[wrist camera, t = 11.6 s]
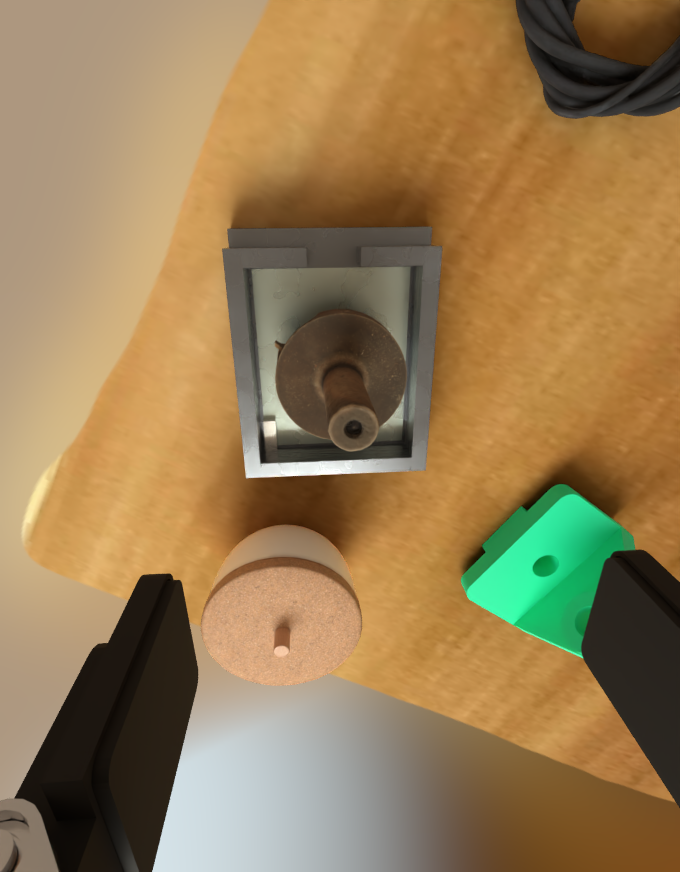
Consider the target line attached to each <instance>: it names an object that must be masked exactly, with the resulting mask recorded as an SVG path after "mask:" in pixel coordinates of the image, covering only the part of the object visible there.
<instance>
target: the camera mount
mask: <svg viewBox="0 0 680 872" xmlns="http://www.w3.org/2000/svg"><path fill="white" fill-rule="evenodd" d="M482 547H483V549H484V550H485V552H486V553H485V554H483V555H482V556H481V557H480V558H479V559H478V560H477V561H476V562H475V563H474V564H473V565H472V566H471V567H470V568H469V569H468V570H467V571H466V572H465V573H464V574H463V576H462V578H461V583H462V586H463V588H464V590H465V592H466V594H467V597H468V598H469V599H470V600H471V601H473V602H475V603H476V604H478V605H480V606H481V607H483V608H485V609H487V610H488V611H490V612H492V613H493V614H495V615H497V616H499V617H500V618H502V619H504V620H505V621H507V622H509V623H511V624H512V625H514V626H516V627H517V628H519V629H521V630H523V631H524V632H526V633H528V634H531V635H533V636H535V637H537V638H540V639H542V640H544V641H546V642H548V643H551V644H553V645H555V646H557V647H559V648H562V649H564V650H566V651H568V652H570V653H573V654H575V655H577V656H579V657H581V658H583V656H582V651H581V644H582V640H583V637H584V633H585V630H586V626H587V622H588V619H589V615H590V612H591V608H592V604H593V601H594V597H595V594H596V590H597V586H598V583H599V579H600V576H601V572H602V568H603V565H604V562H605V560H606V559H607V558H610V556H611V554H612V553H613V552H615V551H624V550H635V545H634V539H633V536H632V535H631V534H630V533H629V532H628V531H627V530H626V529H624V528H623V527H622V526H621V525H620V524H619V523H617V522H616V521H615V520H613V519H612V518H611V517H609V516H608V515H607V514H605V513H604V512H603V511H601V510H600V509H599V508H597V507H596V506H595V505H593V504H592V503H591V502H589V501H588V500H587V499H585V498H584V497H583V496H581V495H580V494H579V493H577V492H576V491H575V490H573V489H572V488H571V487H569V486H568V485H565V484H558V485H555V486H553V487H552V488H550V489H549V490H548V491H547V492H546V493H545V494H544V495H543V496H542V497H541V498H540V499H539V500H538V501H537V502H536V503H535V504H534V505H533V506H532V507H531V508H530V509H529V510H526V509H525V508H523V507H522V506H521V507H520V508H519V509H518V510H517V511H516V512H515V513H514V514H513V515H512V516H511V517H510V518H509V519H508V520H507V521H506V522H505V523H504V524H503V525H502V526H501V527H500V528H499V529H498V530H497V531H496V532H495V533H494V534H493V535H492V536H491V537H490V538H489V539H488V540H487V541H486V542H485V543H484V544H483V545H482Z"/></svg>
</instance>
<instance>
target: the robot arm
mask: <svg viewBox="0 0 680 872" xmlns="http://www.w3.org/2000/svg"><path fill="white" fill-rule="evenodd" d="M581 651H582V656H583V658H584V661H585V663H586V664H587V666H588V667H589V669H590V670H591V672H592V674H593V675H594V677H595V678H596V680H597V681H598V683H599V684H600V686H601V687H602V689H603V690H604V692H605V694H606V695H607V697H608V698H609V700H610V701H611V703H612V704H613V706H614V707H615V709H616V710H617V712H618V714H619V715H620V717H621V718H622V720H623V721H624V723H625V724H626V726H627V727H628V729H629V731H630V732H631V734H632V735H633V737H634V738H635V740H636V741H637V743H638V744H639V746H640V747H641V749H642V751H643V752H644V754H645V755H646V757H647V758H648V760H649V761H650V763H651V764H652V766H653V768H654V769H655V771H656V772H657V774H658V775H659V777H660V778H661V780H662V781H663V783H664V784H665V786H666V788H667V789H668V791H669V792H670V794H671V795H672V797H673V798H674V800H675V801H676V803H677V805H678V806H679V808H680V582H679V581H678V580H677V579H676V578H674V577H673V576H672V575H671V574H670V573H669V572H668V571H667V570H666V569H665V568H664V567H663V566H662V565H661V564H660V563H658V562H657V561H656V560H655V559H654V558H653V557H652V556H651V555H650V554H649V553H647V552H646V551H644V550H624V551H615V552H613V553H612V554H611V556H610V558H607V559H606V560H605V562H604V565H603V568H602V572H601V576H600V579H599V583H598V586H597V590H596V594H595V597H594V601H593V604H592V608H591V612H590V615H589V619H588V622H587V626H586V630H585V633H584V637H583V640H582V644H581ZM197 683H198V666H197V661H196V656H195V650H194V645H193V640H192V634H191V629H190V624H189V618H188V613H187V608H186V602H185V597H184V592H183V587H182V583H181V581H180V580H173V576H172V575H171V574H149V575H142V576H141V577H140V579H139V580H138V582H137V584H136V586H135V589H134V591H133V593H132V595H131V597H130V599H129V601H128V603H127V605H126V607H125V609H124V611H123V613H122V616H121V618H120V619H119V621H118V624H117V626H116V628H115V630H114V632H113V634H112V636H111V638H110V640H109V642H108V643H102V644H98V645H96V646H95V647H94V648H93V649H92V651H91V652H90V654H89V656H88V657H87V659H86V661H85V663H84V665H83V667H82V669H81V671H80V673H79V675H78V677H77V679H76V680H75V682H74V684H73V686H72V688H71V690H70V692H69V694H68V696H67V698H66V700H65V702H64V704H63V706H62V707H61V710H60V711H59V713H58V715H57V717H56V719H55V721H54V723H53V725H52V727H51V729H50V731H49V733H48V734H47V736H46V738H45V740H44V742H43V744H42V746H41V748H40V750H39V752H38V754H37V756H36V758H35V760H34V761H33V764H32V765H31V767H30V769H29V771H28V773H27V775H26V777H25V779H24V781H23V783H22V785H21V787H20V789H19V790H18V793H17V794H16V796H15V798H14V799H5V800H1V801H0V872H152V870H153V866H154V862H155V858H156V854H157V850H158V845H159V842H160V837H161V833H162V829H163V825H164V821H165V817H166V812H167V808H168V804H169V800H170V796H171V792H172V787H173V784H174V779H175V776H176V771H177V767H178V763H179V759H180V755H181V751H182V746H183V743H184V739H185V734H186V730H187V726H188V722H189V718H190V714H191V710H192V706H193V702H194V697H195V693H196V689H197Z"/></svg>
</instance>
